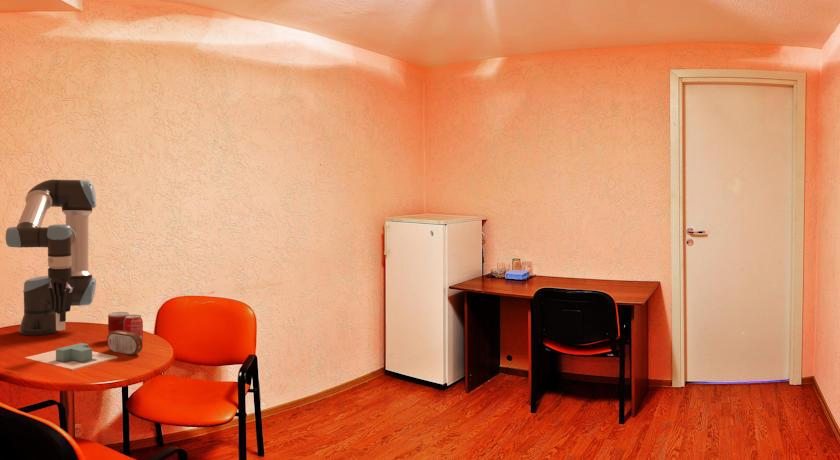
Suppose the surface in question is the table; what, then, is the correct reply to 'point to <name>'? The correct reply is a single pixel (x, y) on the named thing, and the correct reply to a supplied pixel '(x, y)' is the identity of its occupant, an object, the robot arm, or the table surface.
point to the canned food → (116, 321)
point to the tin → (124, 342)
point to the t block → (74, 353)
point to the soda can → (134, 325)
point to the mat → (71, 364)
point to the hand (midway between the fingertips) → (60, 329)
